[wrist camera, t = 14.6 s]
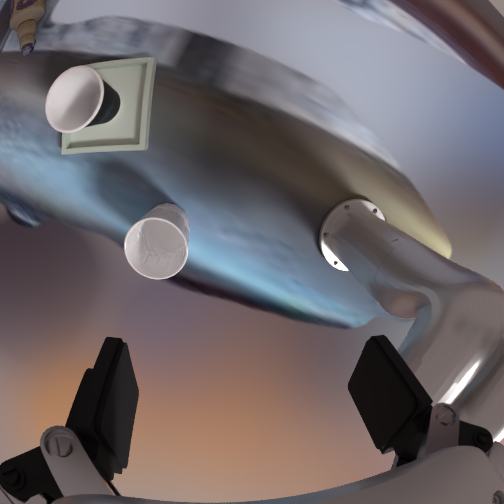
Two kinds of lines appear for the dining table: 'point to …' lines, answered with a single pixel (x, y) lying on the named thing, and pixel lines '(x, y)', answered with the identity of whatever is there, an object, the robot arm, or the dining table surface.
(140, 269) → the white cup
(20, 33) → the decorative bottle
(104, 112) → the dixie cup
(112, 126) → the tray
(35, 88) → the dining table surface
